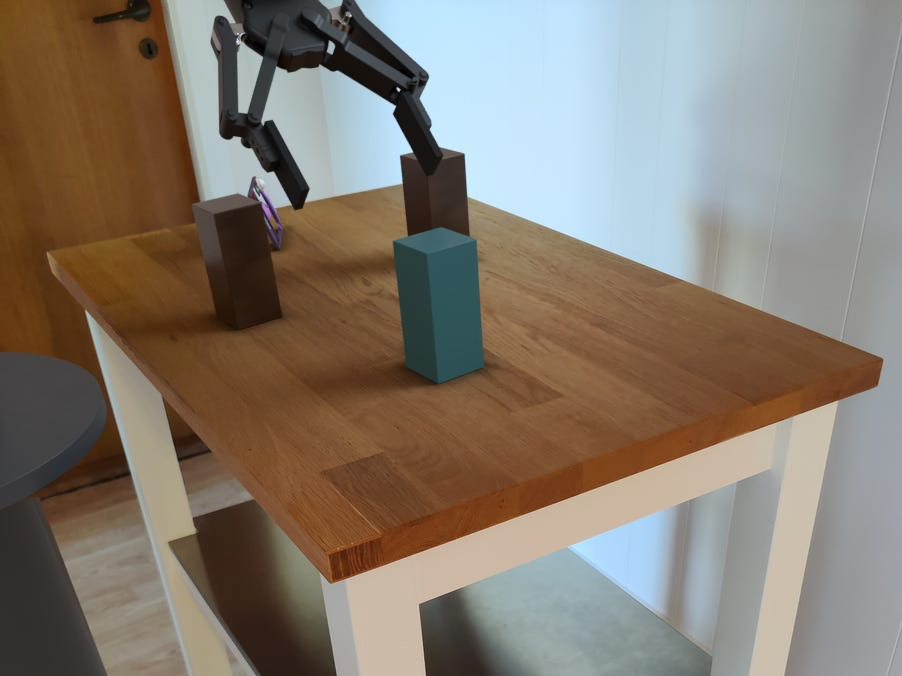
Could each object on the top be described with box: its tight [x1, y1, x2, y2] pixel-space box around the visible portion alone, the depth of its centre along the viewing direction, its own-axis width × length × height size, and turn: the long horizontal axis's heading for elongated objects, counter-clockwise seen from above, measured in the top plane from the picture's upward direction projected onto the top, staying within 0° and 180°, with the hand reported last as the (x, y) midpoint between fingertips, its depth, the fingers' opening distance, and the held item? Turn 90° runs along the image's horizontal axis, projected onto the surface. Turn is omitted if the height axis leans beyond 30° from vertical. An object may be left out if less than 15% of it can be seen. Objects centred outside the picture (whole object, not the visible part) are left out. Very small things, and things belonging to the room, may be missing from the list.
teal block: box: [392, 227, 485, 385], centre depth 85 cm, size 5×5×11 cm
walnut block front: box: [191, 193, 283, 330], centre depth 98 cm, size 5×5×11 cm
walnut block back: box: [399, 146, 471, 237], centre depth 108 cm, size 5×5×11 cm
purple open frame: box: [246, 175, 284, 251], centre depth 120 cm, size 7×5×9 cm
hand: (371, 182), depth 86 cm, fingers open, 13 cm apart
